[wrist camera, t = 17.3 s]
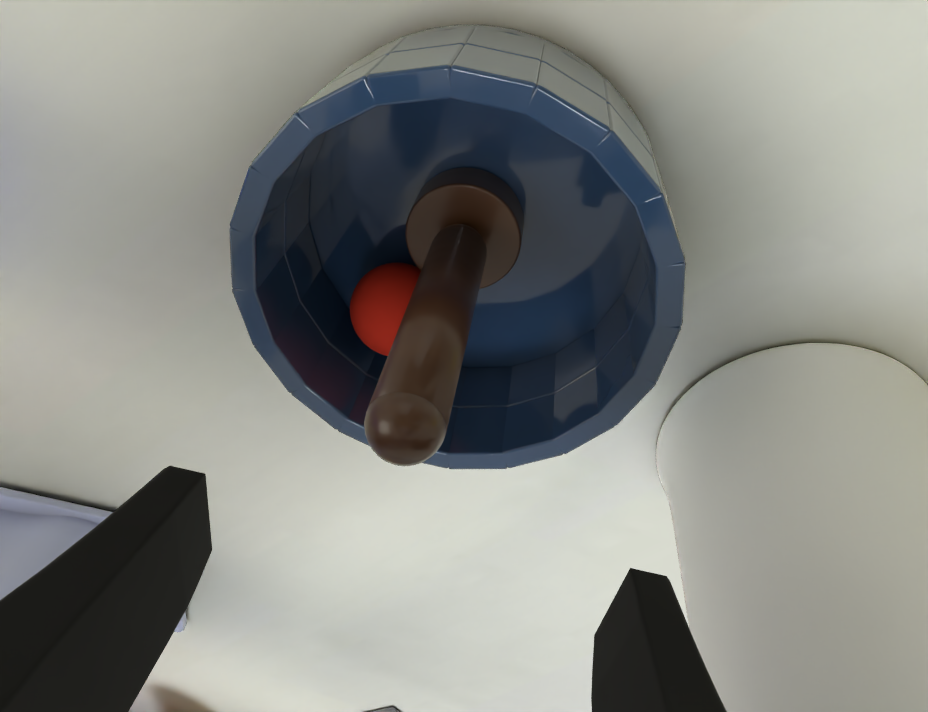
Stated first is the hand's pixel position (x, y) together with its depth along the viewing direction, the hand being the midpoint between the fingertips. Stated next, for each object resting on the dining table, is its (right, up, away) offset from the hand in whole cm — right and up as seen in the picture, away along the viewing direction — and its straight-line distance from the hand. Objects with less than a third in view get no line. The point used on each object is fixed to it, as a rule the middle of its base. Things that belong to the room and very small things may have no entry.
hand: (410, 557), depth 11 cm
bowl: (+1, +7, +7) cm, 10 cm away
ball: (-1, +5, +7) cm, 9 cm away
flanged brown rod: (+1, +7, +7) cm, 10 cm away
